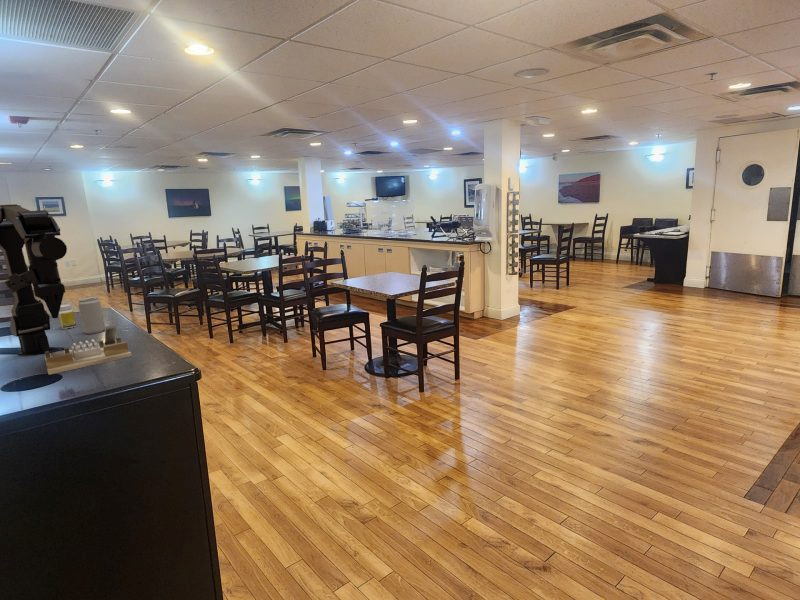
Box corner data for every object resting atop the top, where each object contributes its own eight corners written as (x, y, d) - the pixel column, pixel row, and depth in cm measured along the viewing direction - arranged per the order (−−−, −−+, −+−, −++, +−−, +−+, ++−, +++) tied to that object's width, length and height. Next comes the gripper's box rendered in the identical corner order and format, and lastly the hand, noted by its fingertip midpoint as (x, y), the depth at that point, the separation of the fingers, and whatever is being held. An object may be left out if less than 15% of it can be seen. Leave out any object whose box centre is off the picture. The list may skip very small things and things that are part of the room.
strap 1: (51, 355, 134) (50, 351, 134) (63, 353, 136) (62, 349, 136) (53, 363, 125) (52, 358, 125) (66, 360, 127) (65, 356, 127)
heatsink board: (45, 358, 137) (41, 345, 136) (119, 342, 148) (117, 330, 148) (48, 374, 122) (45, 359, 121) (131, 356, 133) (129, 342, 132)
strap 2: (105, 345, 142) (104, 342, 142) (115, 343, 144) (114, 340, 144) (105, 329, 133) (104, 325, 134) (116, 327, 135) (115, 323, 135)
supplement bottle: (79, 326, 177) (75, 304, 175) (67, 329, 173) (62, 307, 171) (70, 326, 179) (65, 304, 177) (58, 329, 174) (53, 307, 173)
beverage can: (95, 334, 162) (88, 300, 160) (79, 334, 163) (72, 300, 161) (110, 329, 168) (103, 296, 166) (94, 329, 170) (87, 296, 167)
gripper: (3, 261, 126) (17, 319, 129) (1, 266, 112) (16, 330, 115) (55, 256, 133) (66, 311, 136) (58, 259, 118) (71, 320, 121)
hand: (55, 318), depth 127 cm, fingers closed
